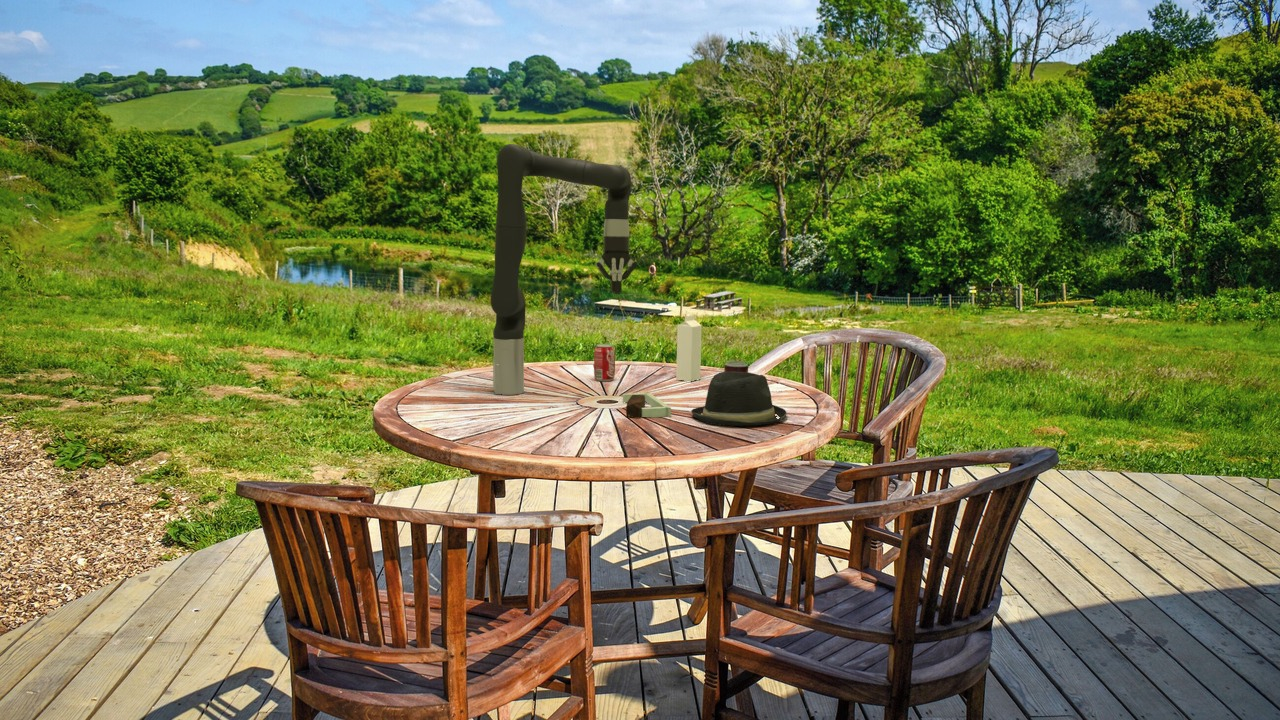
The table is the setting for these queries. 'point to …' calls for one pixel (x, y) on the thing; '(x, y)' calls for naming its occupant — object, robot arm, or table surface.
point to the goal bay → (657, 406)
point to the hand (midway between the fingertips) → (615, 293)
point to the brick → (635, 405)
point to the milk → (689, 349)
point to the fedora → (738, 401)
